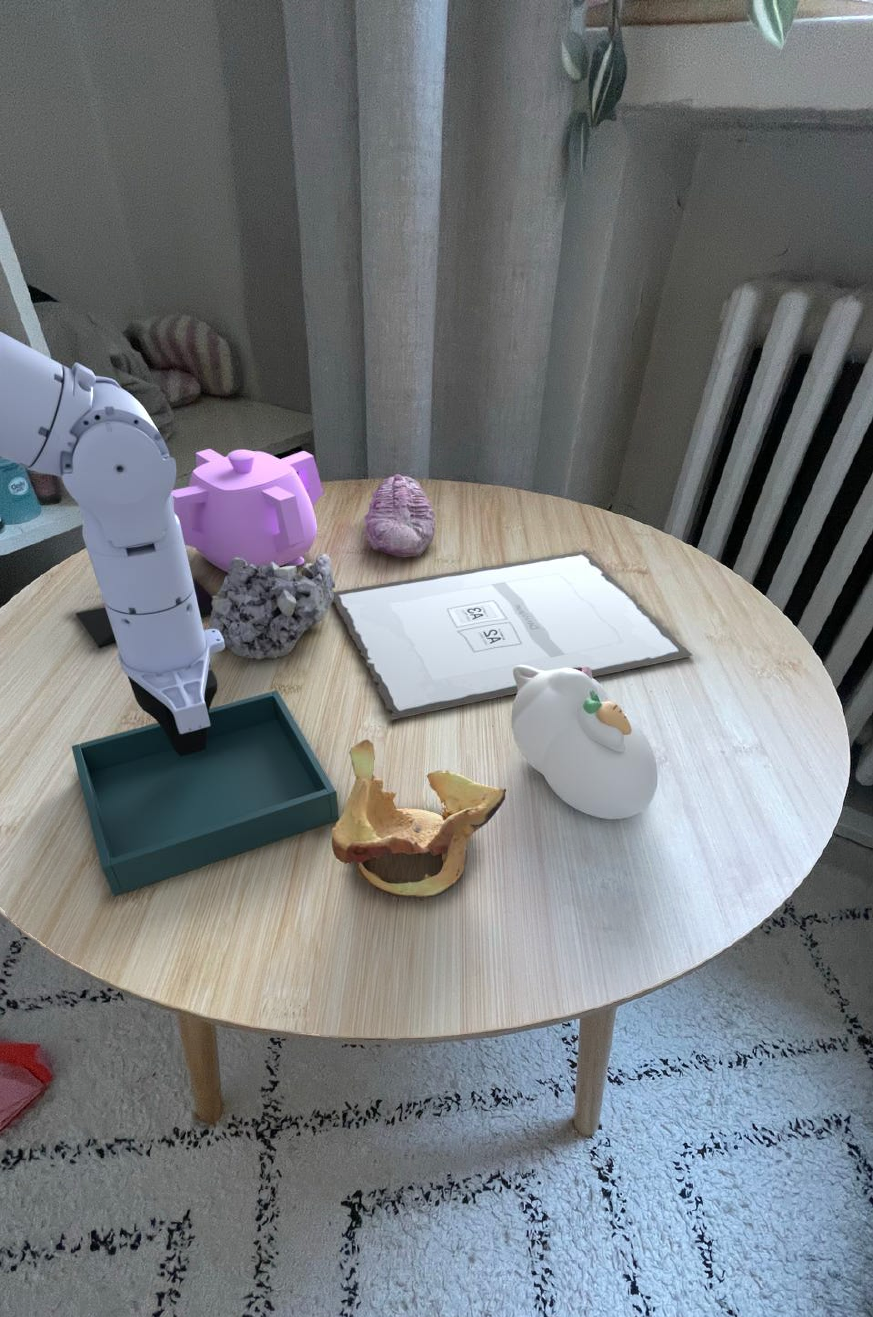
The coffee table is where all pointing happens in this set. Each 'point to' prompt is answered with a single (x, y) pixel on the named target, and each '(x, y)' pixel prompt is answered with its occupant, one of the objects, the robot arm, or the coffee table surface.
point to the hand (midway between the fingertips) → (190, 747)
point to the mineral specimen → (270, 605)
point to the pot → (250, 507)
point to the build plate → (101, 627)
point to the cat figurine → (582, 742)
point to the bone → (411, 824)
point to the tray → (201, 792)
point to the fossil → (400, 518)
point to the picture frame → (497, 630)
